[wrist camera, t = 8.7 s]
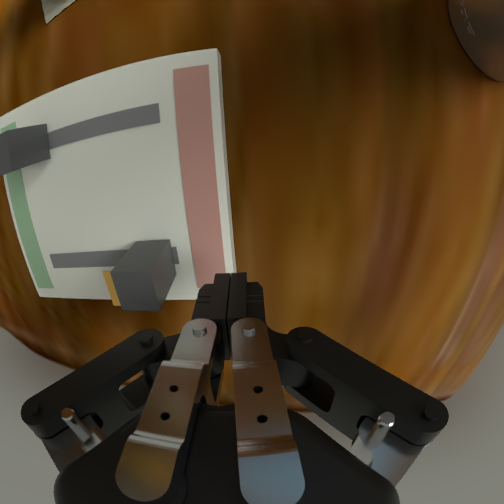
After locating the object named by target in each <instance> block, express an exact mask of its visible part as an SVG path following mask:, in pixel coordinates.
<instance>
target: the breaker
mask: <svg viewBox="0 0 504 504" xmlns="http://www.w3.org/2000/svg"><path fill="white" fill-rule="evenodd" d="M47 159H51V157H50V150H49V142H48V133H47V124H40V125H34V126H28V127H22V128H16V129H11V130H7V131H5V132H3V133H1V134H0V176H2V175H5V174H8V173H10V172H13V171H16V170H18V169H21V168H24V167H27V166H29V165H32V164H35V163H38V162H41V161H44V160H47Z"/></svg>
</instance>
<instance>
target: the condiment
mask: <svg viewBox="0 0 504 504" xmlns="http://www.w3.org/2000/svg"><path fill="white" fill-rule="evenodd" d="M74 1H75V0H41V2H42V7H43V11H44V15H45V21H46V24H47V23H48V22H49V21H50V20H51V19H52V18H54V17H55V16H56V15H58V14H59V13H60V12H61V11H62V10H63V9H64V8H66V7H67V6H69V5H70V4H71V3H73V2H74Z"/></svg>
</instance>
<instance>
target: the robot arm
mask: <svg viewBox="0 0 504 504" xmlns="http://www.w3.org/2000/svg"><path fill="white" fill-rule="evenodd" d="M448 8H449V15H450V19H451V22H452V26H453V28H454V30H455V33H456V35H457V37H458V39H459V41H460V43H461V45H462V47H463V48H464V50H465V51H466V53H467V54H468V56H469V57H470V58H471V60H472V61H473V62H474V63H475V65H476V66H477V67H478V68H479V69H480V70H481V71H482V72H483V73H484V74H486V75H487V76H488V77H490V78H492V79H494V80H496V81H501V82H504V0H449V2H448ZM230 356H231V357H232V360H233V364H232V371H233V387H234V404H230V405H225V406H218V404H219V398H220V393H221V387H222V381H223V376H224V372H223V368H224V360H230ZM140 371H142V374H143V375H142V376H140V377H139V378H137V379H136V380H134V381H133V382H131V383H130V384H128V385H127V386H126V387H124V388H123V389H121V390H120V391H119V387H120V386H121V384H122V383H124V382H125V381H127V380H128V379H130V378H131V377H133V376H134V375H136V374H137V373H138V372H140ZM282 385H284V388H285V390H286V391H287V392H288V393H290V394H291V395H292V396H293V397H295V398H296V399H297V400H298V401H300V402H301V403H302V404H304V405H305V406H306V407H307V408H309V409H310V410H311V411H313V412H314V413H315V414H317V415H318V416H319V417H321V418H322V419H323V420H325V421H326V422H328V423H329V424H330V425H332V426H333V427H335V428H336V429H337V430H339V431H340V432H342V433H343V434H344V435H346V436H347V437H349V438H350V439H352V444H351V448H352V451H353V453H354V454H355V456H354V455H353V454H351V453H350V452H349V451H348V450H346V449H345V448H344V447H342V446H341V445H340V444H338V443H337V442H336V441H335V440H333V439H332V438H331V437H330V436H328V435H327V434H326V433H324V432H323V431H322V430H321V429H320V428H318V427H317V426H316V425H315V424H313V423H312V422H311V421H310V420H308V419H307V418H305V417H304V416H302V415H301V414H299V413H297V412H294V411H292V410H289V409H287V407H286V402H285V398H284V393H283V388H282ZM21 417H22V420H23V421H24V422H25V423H26V424H27V425H28V426H29V427H30V429H31V430H32V431H33V432H34V433H35V435H36V436H37V437H38V438H39V439H40V440H41V441H42V442H43V444H44V446H45V447H46V449H47V451H48V453H49V455H50V457H51V458H52V460H53V462H54V464H55V465H56V467H57V469H58V470H59V472H60V473H59V475H58V476H57V479H56V481H55V484H54V499H55V503H56V504H400V500H399V496H398V493H397V490H396V489H395V486H396V485H397V484H398V482H399V481H400V480H401V479H402V477H403V476H404V475H405V473H406V472H407V471H408V469H409V468H410V466H411V465H412V464H413V462H414V461H415V459H416V458H417V457H418V455H419V454H420V453H421V452H422V451H423V450H424V449H425V448H426V447H427V446H428V445H429V444H430V443H431V442H432V441H433V439H434V438H435V437H436V436H437V435H438V434H439V433H440V431H441V430H442V429H443V428H444V427H445V425H446V424H447V422H448V418H449V415H448V410H447V408H446V407H445V405H444V404H443V403H442V402H440V401H439V400H437V399H435V398H433V397H431V396H430V395H428V394H426V393H424V392H422V391H421V390H419V389H417V388H415V387H413V386H412V385H410V384H408V383H406V382H404V381H403V380H401V379H399V378H397V377H396V376H394V375H392V374H390V373H389V372H387V371H385V370H383V369H382V368H380V367H378V366H376V365H375V364H373V363H371V362H370V361H368V360H366V359H364V358H363V357H361V356H359V355H358V354H356V353H354V352H353V351H351V350H349V349H348V348H346V347H344V346H343V345H341V344H339V343H338V342H336V341H334V340H333V339H331V338H329V337H328V336H326V335H324V334H323V333H321V332H319V331H318V330H316V329H314V328H310V327H298V328H295V329H293V330H291V331H290V332H289V333H288V334H281V333H277V332H275V331H273V330H271V329H270V328H269V327H268V326H267V324H266V321H265V310H264V298H263V288H262V287H261V285H260V284H259V283H258V282H247V273H246V272H241V273H215V277H214V282H213V284H204V285H203V286H202V287H201V288H200V289H199V292H198V296H197V299H196V303H195V307H194V311H193V315H192V319H191V321H189V322H188V323H186V324H185V325H184V327H183V329H182V331H181V333H179V334H177V335H173V336H168V337H163V335H162V333H161V332H160V331H158V330H155V329H144V330H141V331H139V332H137V333H135V334H134V335H132V336H130V337H129V338H127V339H126V340H124V341H122V342H121V343H119V344H118V345H116V346H114V347H113V348H111V349H109V350H108V351H106V352H105V353H103V354H101V355H100V356H98V357H96V358H95V359H93V360H91V361H90V362H88V363H87V364H85V365H83V366H82V367H80V368H78V369H77V370H75V371H73V372H72V373H70V374H69V375H67V376H65V377H64V378H62V379H60V380H59V381H57V382H55V383H54V384H52V385H50V386H49V387H47V388H46V389H44V390H42V391H41V392H39V393H37V394H36V395H34V396H32V397H31V398H29V399H28V400H27V401H26V402H25V403H24V404H23V406H22V409H21Z"/></svg>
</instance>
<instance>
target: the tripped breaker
mask: <svg viewBox="0 0 504 504" xmlns="http://www.w3.org/2000/svg"><path fill="white" fill-rule="evenodd" d="M110 274H111V277H112V280H113V283H114V287H115V290H116V293H117V296H118V299H119V302H120V305H121V307H122V310H127V311H161V309H162V306H163V304H164V302H165V299H166V297H167V295H168V292H169V290H170V288H171V286H172V283H173V281H174V279H175V277H176V269H175V264H174V259H173V254H172V248H171V243H170V239H168V240H152V241H137V242H135V243H134V244H133V245H132V246H131V248H130V249H129V250H128V251H127V252H126V253H125V255H124V256H123V257H122V258H121V259H120V261H119V262H118V263H117V264H116V266H115V267H114V268H113V269H112V271H111V272H110Z"/></svg>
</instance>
